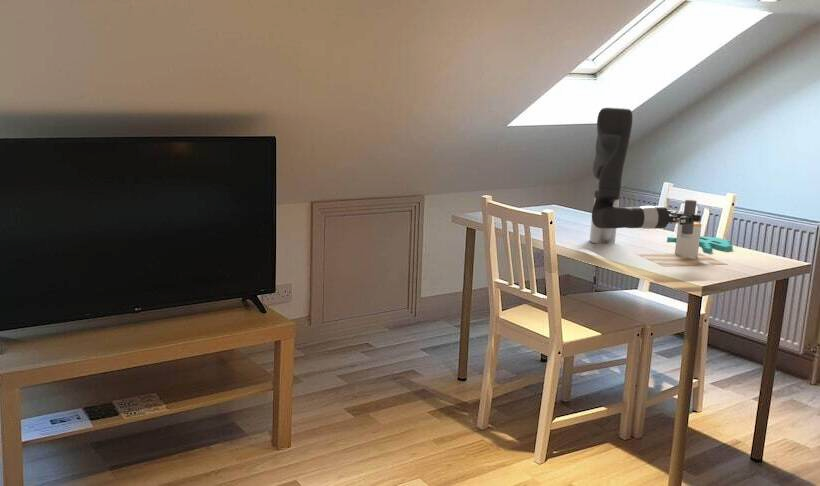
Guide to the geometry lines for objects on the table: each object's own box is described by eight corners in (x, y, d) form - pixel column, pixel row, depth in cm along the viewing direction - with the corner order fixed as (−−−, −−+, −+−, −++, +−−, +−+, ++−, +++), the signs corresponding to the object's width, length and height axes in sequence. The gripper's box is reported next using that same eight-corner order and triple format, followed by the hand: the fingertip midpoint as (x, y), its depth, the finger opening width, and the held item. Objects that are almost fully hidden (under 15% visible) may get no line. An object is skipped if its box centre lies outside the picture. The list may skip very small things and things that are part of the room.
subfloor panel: (636, 258, 290) (637, 254, 289) (698, 256, 296) (698, 252, 296) (663, 270, 274) (664, 266, 273) (727, 268, 280) (728, 264, 280)
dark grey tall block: (678, 236, 277) (682, 199, 274) (688, 235, 278) (692, 199, 275) (684, 238, 274) (689, 201, 271) (694, 238, 275) (699, 201, 272)
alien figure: (707, 254, 303) (743, 250, 313) (708, 248, 302) (744, 244, 312) (666, 242, 320) (702, 239, 330) (667, 237, 319) (703, 233, 329)
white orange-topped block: (674, 253, 293) (678, 221, 290) (689, 253, 294) (693, 221, 292) (682, 257, 288) (686, 224, 285) (697, 256, 290) (701, 224, 287)
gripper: (664, 210, 263) (710, 209, 268) (641, 202, 276) (685, 202, 281) (661, 233, 265) (707, 232, 269) (638, 223, 278) (683, 223, 283)
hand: (696, 216), depth 275 cm, fingers closed on dark grey tall block, 3 cm apart
